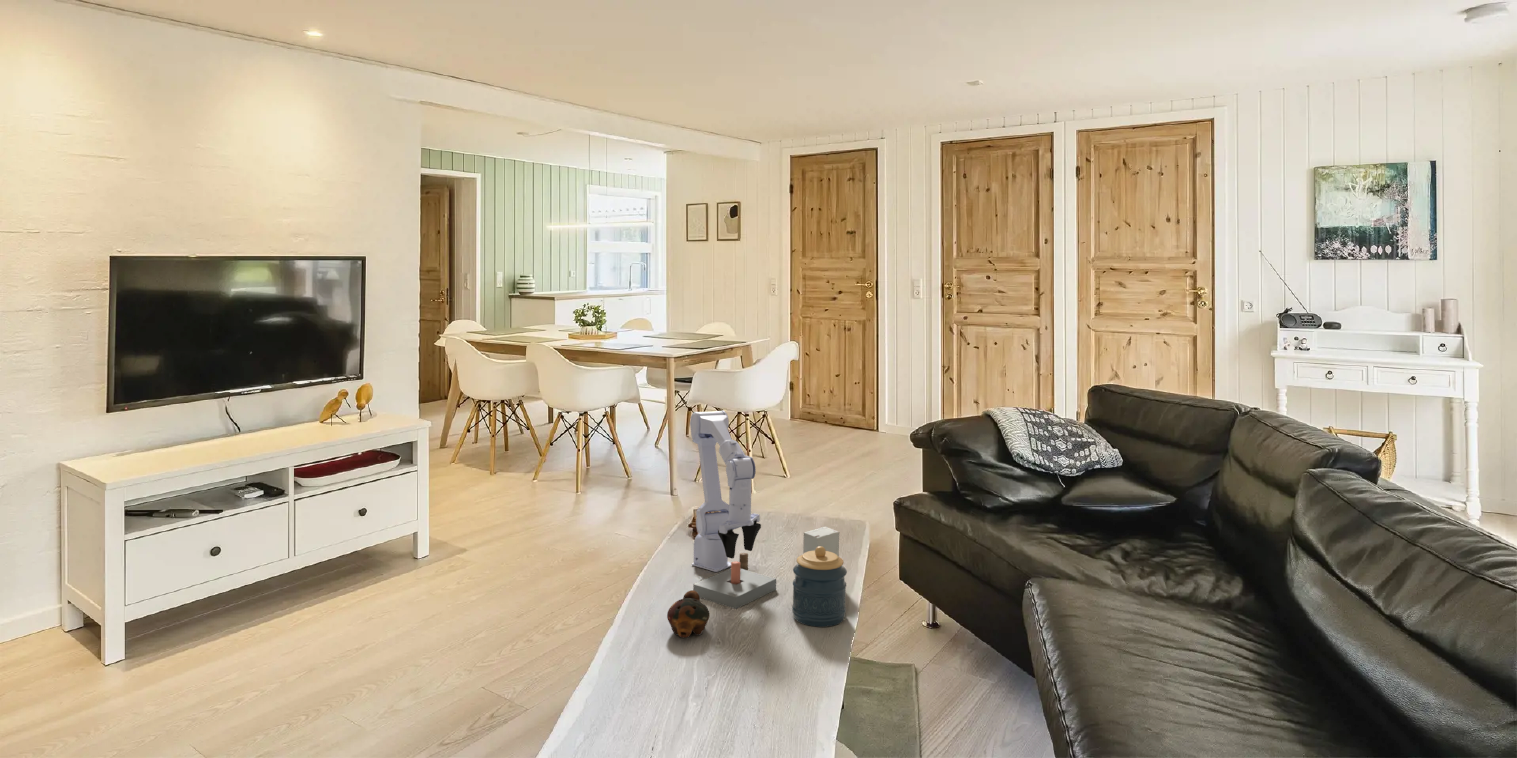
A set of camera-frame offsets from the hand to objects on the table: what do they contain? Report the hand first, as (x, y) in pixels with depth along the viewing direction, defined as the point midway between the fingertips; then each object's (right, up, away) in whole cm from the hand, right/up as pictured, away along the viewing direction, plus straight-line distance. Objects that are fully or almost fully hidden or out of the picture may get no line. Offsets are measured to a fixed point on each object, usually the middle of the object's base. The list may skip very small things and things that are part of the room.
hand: (739, 553), depth 222 cm
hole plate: (-1, -10, -2) cm, 10 cm away
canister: (+20, -12, -17) cm, 29 cm away
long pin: (-1, -10, -2) cm, 10 cm away
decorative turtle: (-11, -13, -27) cm, 32 cm away
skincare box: (+22, -9, +5) cm, 24 cm away
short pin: (+1, -8, +15) cm, 17 cm away
